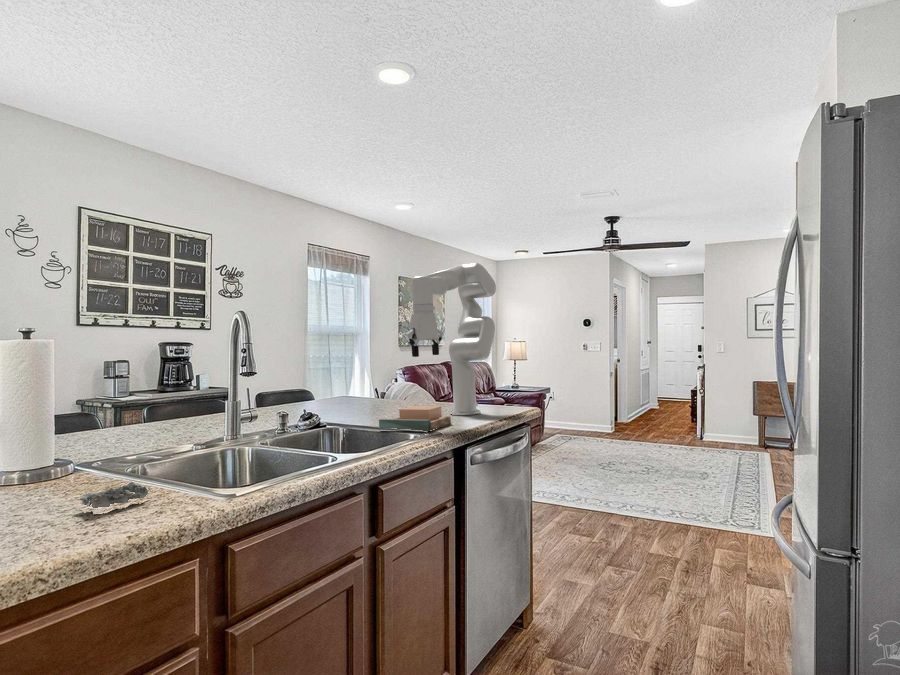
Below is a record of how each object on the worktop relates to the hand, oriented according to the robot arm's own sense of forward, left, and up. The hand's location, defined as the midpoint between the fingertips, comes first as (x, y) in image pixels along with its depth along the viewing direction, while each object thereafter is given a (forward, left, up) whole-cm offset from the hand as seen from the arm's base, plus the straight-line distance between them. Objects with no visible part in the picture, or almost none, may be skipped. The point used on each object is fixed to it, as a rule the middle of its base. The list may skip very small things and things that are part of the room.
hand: (425, 355), depth 202 cm
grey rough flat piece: (+110, -13, -26) cm, 114 cm away
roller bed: (+8, -1, -25) cm, 27 cm away
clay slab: (+4, -1, -23) cm, 23 cm away
